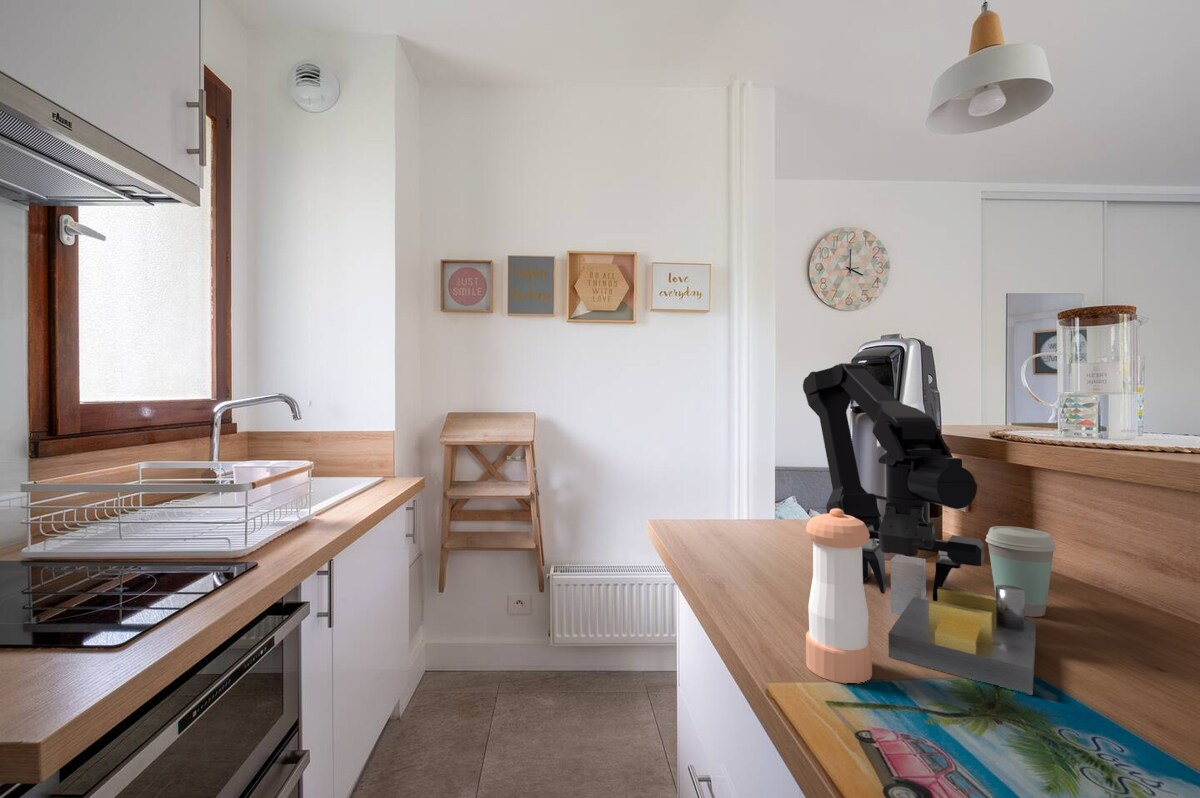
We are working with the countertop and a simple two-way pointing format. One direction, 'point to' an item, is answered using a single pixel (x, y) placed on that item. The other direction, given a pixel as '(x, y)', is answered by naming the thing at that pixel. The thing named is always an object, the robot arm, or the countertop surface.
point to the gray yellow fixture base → (969, 636)
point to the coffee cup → (1022, 563)
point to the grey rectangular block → (907, 581)
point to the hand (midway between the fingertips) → (908, 598)
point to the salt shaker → (838, 600)
